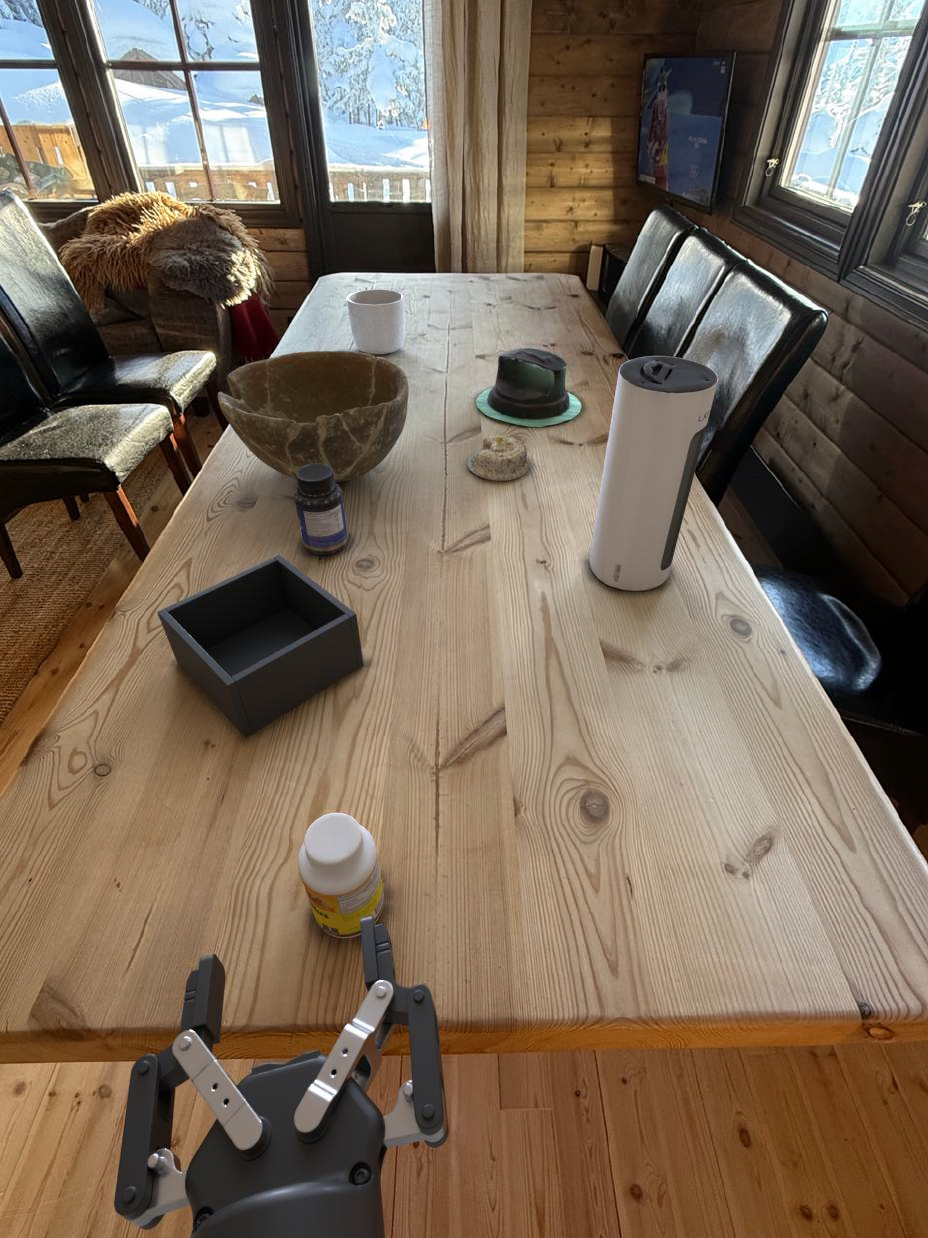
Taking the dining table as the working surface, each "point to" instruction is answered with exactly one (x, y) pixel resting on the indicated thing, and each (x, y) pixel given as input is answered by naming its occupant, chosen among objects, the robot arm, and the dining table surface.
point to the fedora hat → (529, 390)
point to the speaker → (649, 468)
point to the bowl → (318, 410)
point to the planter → (377, 320)
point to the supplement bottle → (341, 874)
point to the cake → (500, 459)
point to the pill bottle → (320, 510)
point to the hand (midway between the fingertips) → (291, 942)
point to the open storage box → (263, 642)
